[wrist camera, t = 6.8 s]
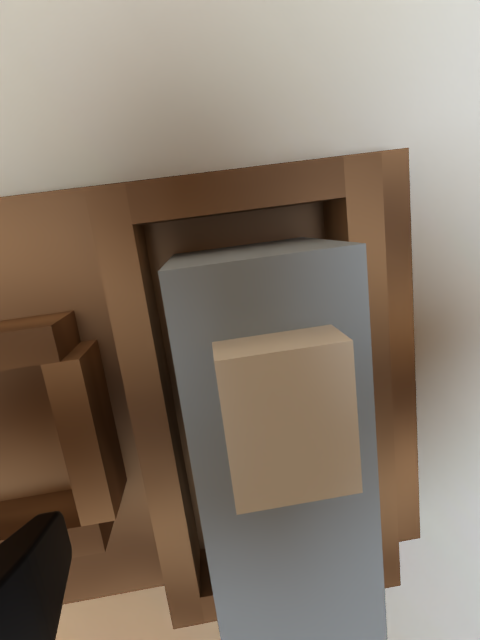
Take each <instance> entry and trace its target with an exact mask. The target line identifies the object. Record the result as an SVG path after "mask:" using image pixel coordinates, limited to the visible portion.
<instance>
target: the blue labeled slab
mask: <svg viewBox="0 0 480 640" xmlns="http://www.w3.org/2000/svg"><path fill="white" fill-rule="evenodd" d="M158 275H159V281H160V287H161V293H162V299H163V305H164V310H165V316H166V322H167V328H168V334H169V340H170V345H171V351H172V357H173V363H174V369H175V375H176V380H177V386H178V392H179V398H180V404H181V410H182V416H183V421H184V427H185V433H186V439H187V445H188V451H189V456H190V462H191V468H192V474H193V480H194V486H195V491H196V497H197V503H198V509H199V515H200V521H201V526H202V532H203V538H204V544H205V550H206V556H207V562H208V567H209V573H210V579H211V585H212V591H213V597H214V602H215V608H216V614H217V620H218V626H219V632H220V637H221V640H387V625H386V606H385V588H384V569H383V551H382V532H381V514H380V495H379V477H378V458H377V439H376V421H375V402H374V384H373V365H372V347H371V328H370V310H369V291H368V272H367V254H366V243H357V242H347V241H337V240H327V239H317V238H307V237H299V238H292V239H284V240H277V241H269V242H262V243H254V244H247V245H239V246H232V247H224V248H216V249H209V250H201V251H194V252H186V253H179V254H173V255H172V257H171V258H170V259H169V260H168V261H167V262H166V263H165V264H164V265H163V266H162V267H161V269H160V270H159V271H158Z"/></svg>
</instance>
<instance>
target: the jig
mask: <svg viewBox="0 0 480 640" xmlns="http://www.w3.org/2000/svg"><path fill="white" fill-rule="evenodd" d="M299 237H307V238H317V239H327V240H337V241H347V242H357V243H366V254H367V272H368V291H369V310H370V328H371V347H372V365H373V384H374V402H375V421H376V439H377V458H378V477H379V495H380V514H381V532H382V551H383V569H384V588H389V587H394V586H400V585H401V584H400V561H399V542H401V541H406V540H412V539H417V538H420V516H419V482H418V449H417V415H416V381H415V348H414V314H413V281H412V247H411V213H410V180H409V148H402V149H394V150H386V151H378V152H369V153H361V154H353V155H345V156H336V157H328V158H320V159H312V160H303V161H295V162H287V163H279V164H270V165H262V166H254V167H246V168H237V169H229V170H221V171H213V172H204V173H196V174H188V175H180V176H171V177H163V178H155V179H146V180H138V181H130V182H122V183H113V184H105V185H97V186H89V187H80V188H72V189H64V190H56V191H47V192H39V193H31V194H23V195H14V196H6V197H0V543H2V542H3V541H4V540H6V539H7V538H8V537H9V536H11V535H12V534H13V533H14V532H16V531H17V530H18V529H20V528H21V527H22V526H23V525H25V524H26V523H27V522H29V521H30V520H31V519H32V518H34V517H35V516H36V515H38V514H40V513H46V512H52V511H60V512H61V513H62V514H63V516H64V519H65V523H66V527H67V531H68V534H69V538H70V542H71V546H72V560H71V565H70V570H69V575H68V580H67V585H66V590H65V595H64V599H63V604H68V603H73V602H79V601H84V600H89V599H95V598H100V597H105V596H111V595H116V594H122V593H127V592H132V591H138V590H143V589H148V588H154V587H159V586H165V590H166V595H167V600H168V605H169V610H170V615H171V620H172V625H173V629H177V628H182V627H188V626H193V625H198V624H203V623H208V622H213V621H218V620H217V614H216V608H215V602H214V597H213V591H212V585H211V579H210V573H209V567H208V562H207V556H206V550H205V544H204V538H203V532H202V526H201V521H200V515H199V509H198V503H197V497H196V491H195V486H194V480H193V474H192V468H191V462H190V456H189V451H188V445H187V439H186V433H185V427H184V421H183V416H182V410H181V404H180V398H179V392H178V386H177V380H176V375H175V369H174V363H173V357H172V351H171V345H170V340H169V334H168V328H167V322H166V316H165V310H164V305H163V299H162V293H161V287H160V281H159V275H158V271H159V270H160V269H161V267H162V266H163V265H164V264H165V263H166V262H167V261H168V260H169V259H170V258H171V257H172V255H173V254H179V253H186V252H194V251H201V250H209V249H216V248H224V247H232V246H239V245H247V244H254V243H262V242H269V241H277V240H284V239H292V238H299ZM63 604H62V605H63Z"/></svg>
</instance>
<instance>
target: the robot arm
mask: <svg viewBox="0 0 480 640" xmlns="http://www.w3.org/2000/svg"><path fill="white" fill-rule="evenodd" d="M71 560H72V546H71V542H70V538H69V534H68V531H67V527H66V523H65V519H64V516H63V514H62V513H61V512H60V511H52V512H46V513H40V514H38V515H36V516H35V517H34V518H32V519H31V520H30V521H29V522H27V523H26V524H25V525H23V526H22V527H21V528H20V529H18V530H17V531H16V532H14V533H13V534H12V535H11V536H9V537H8V538H7V539H6V540H4V541H3V542H2V543H0V640H55V638H56V634H57V629H58V624H59V619H60V614H61V609H62V604H63V599H64V595H65V590H66V585H67V580H68V575H69V570H70V565H71Z"/></svg>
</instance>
